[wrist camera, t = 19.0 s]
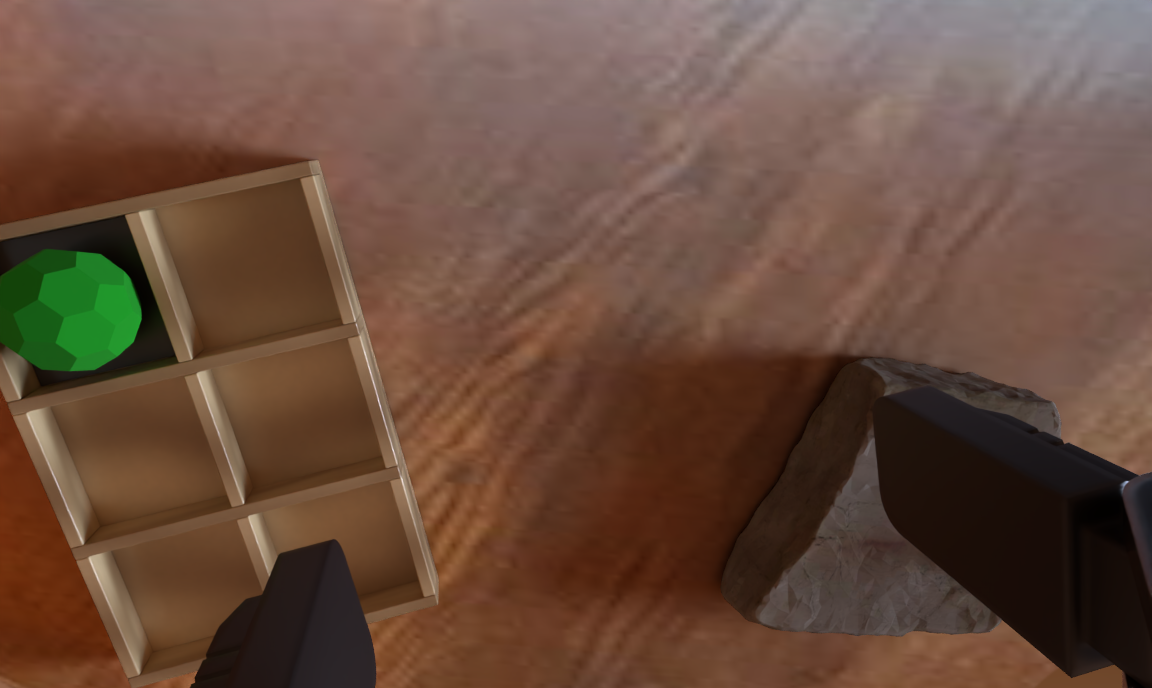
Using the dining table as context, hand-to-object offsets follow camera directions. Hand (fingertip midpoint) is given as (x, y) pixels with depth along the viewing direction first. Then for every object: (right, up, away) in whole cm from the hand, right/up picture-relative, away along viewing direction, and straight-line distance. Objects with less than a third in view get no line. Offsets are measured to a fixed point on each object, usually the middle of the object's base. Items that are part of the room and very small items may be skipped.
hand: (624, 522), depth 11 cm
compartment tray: (-17, -1, +25) cm, 30 cm away
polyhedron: (-21, +5, +22) cm, 31 cm away
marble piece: (+16, -5, +32) cm, 36 cm away
